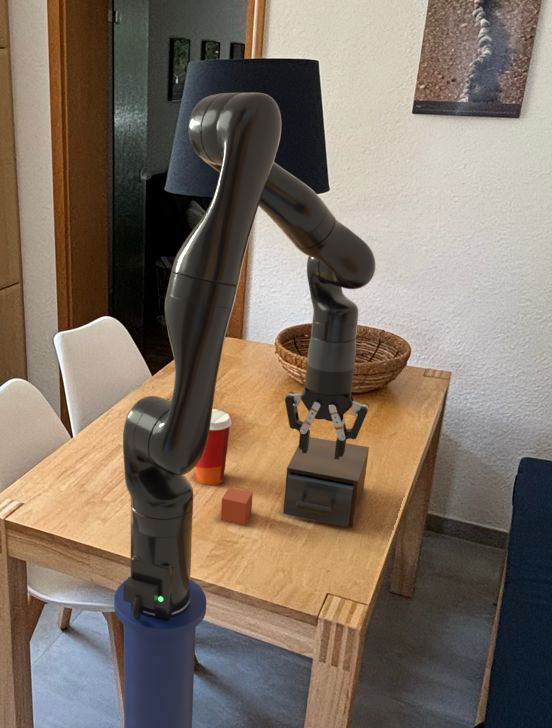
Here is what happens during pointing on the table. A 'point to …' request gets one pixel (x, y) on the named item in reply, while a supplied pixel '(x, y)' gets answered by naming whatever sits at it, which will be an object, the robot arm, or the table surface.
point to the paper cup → (214, 450)
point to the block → (236, 506)
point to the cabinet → (332, 467)
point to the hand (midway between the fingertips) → (321, 454)
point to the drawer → (319, 499)
